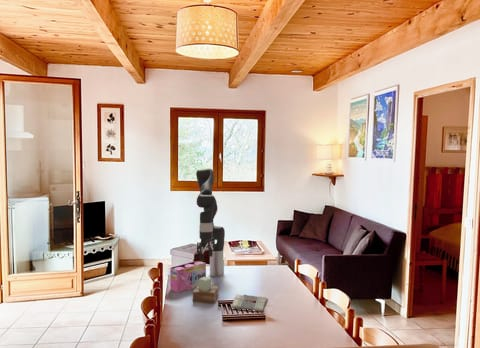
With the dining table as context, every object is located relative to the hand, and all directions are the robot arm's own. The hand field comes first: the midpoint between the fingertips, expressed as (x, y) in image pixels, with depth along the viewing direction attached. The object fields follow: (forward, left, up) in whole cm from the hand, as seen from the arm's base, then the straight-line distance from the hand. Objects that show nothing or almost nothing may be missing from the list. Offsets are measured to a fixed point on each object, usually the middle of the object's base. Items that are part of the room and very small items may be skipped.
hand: (206, 258), depth 212 cm
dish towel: (-5, +26, -23) cm, 35 cm away
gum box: (-8, -19, -23) cm, 31 cm away
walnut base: (+2, +2, -23) cm, 23 cm away
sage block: (+3, +1, -17) cm, 17 cm away
